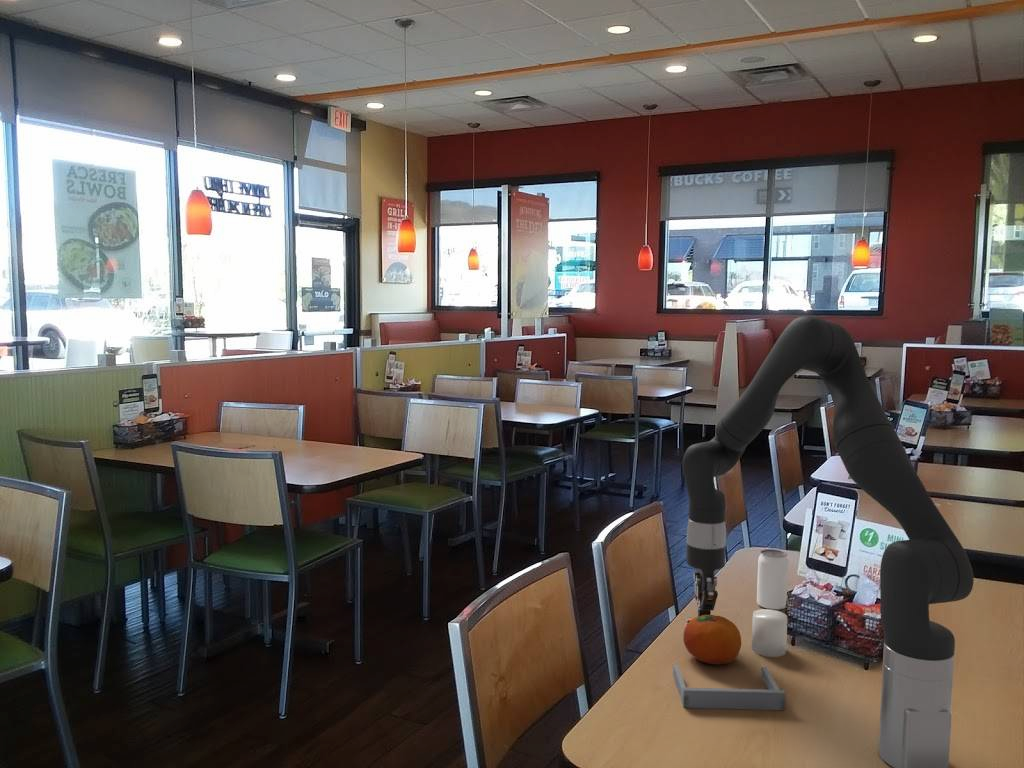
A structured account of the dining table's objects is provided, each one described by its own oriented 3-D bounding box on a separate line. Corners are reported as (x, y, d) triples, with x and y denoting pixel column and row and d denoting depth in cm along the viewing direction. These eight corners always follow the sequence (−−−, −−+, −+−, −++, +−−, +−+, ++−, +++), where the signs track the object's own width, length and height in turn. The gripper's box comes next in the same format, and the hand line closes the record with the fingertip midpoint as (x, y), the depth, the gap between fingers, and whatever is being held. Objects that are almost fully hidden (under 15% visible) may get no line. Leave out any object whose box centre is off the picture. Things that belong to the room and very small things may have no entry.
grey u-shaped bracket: (784, 710, 137) (785, 692, 136) (683, 707, 137) (684, 690, 137) (765, 677, 149) (766, 661, 148) (673, 675, 149) (673, 659, 149)
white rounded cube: (790, 657, 157) (791, 622, 156) (756, 656, 157) (757, 621, 157) (780, 643, 163) (782, 609, 163) (748, 642, 164) (749, 608, 163)
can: (756, 608, 182) (758, 555, 180) (756, 598, 188) (758, 547, 187) (787, 612, 180) (789, 558, 179) (786, 601, 186) (788, 550, 185)
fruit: (748, 656, 157) (749, 616, 156) (730, 677, 149) (731, 634, 148) (694, 643, 163) (695, 604, 162) (674, 662, 154) (675, 621, 154)
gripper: (732, 552, 156) (730, 640, 158) (718, 532, 169) (716, 614, 171) (692, 551, 156) (690, 639, 158) (681, 532, 169) (679, 614, 171)
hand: (703, 626), depth 164 cm, fingers closed
